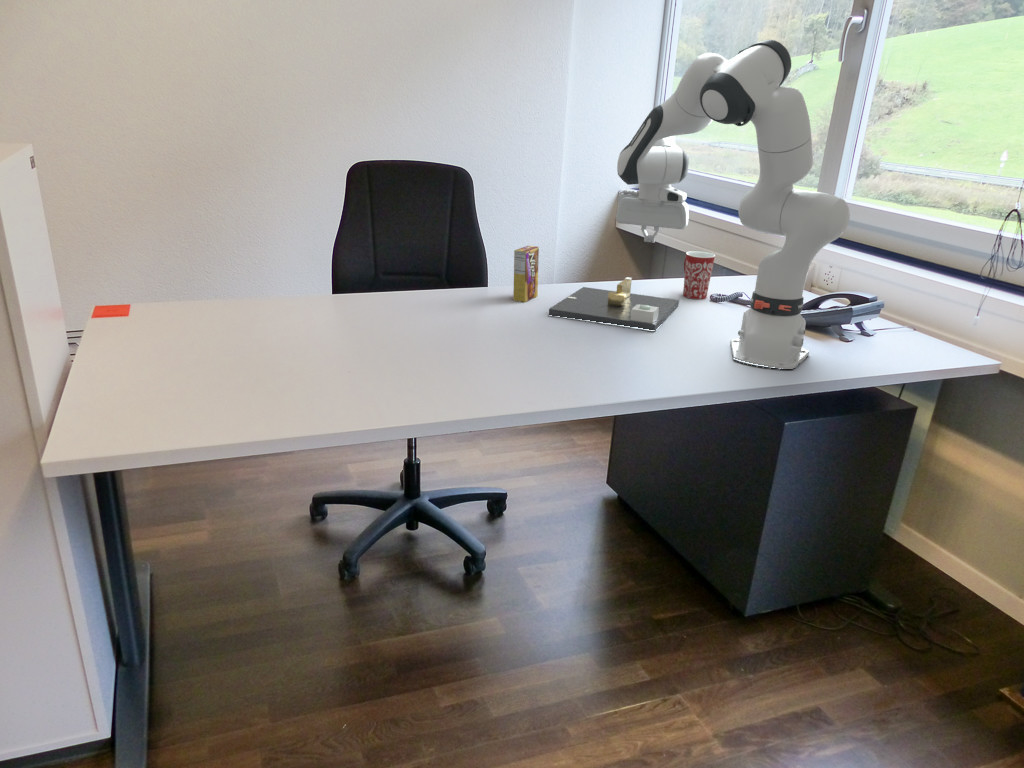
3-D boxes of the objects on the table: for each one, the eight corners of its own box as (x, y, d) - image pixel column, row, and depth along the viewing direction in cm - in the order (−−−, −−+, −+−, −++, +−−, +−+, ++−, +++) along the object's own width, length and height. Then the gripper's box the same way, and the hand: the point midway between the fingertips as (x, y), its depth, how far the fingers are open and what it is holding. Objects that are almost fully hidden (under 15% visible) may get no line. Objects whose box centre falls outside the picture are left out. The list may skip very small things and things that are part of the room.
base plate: (654, 332, 196) (656, 311, 194) (548, 315, 207) (549, 296, 205) (678, 306, 222) (680, 288, 220) (583, 293, 233) (584, 275, 231)
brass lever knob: (622, 306, 210) (624, 288, 208) (605, 304, 212) (607, 286, 210) (635, 295, 223) (637, 278, 221) (619, 293, 225) (621, 276, 223)
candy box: (525, 294, 228) (527, 245, 223) (537, 296, 226) (540, 246, 221) (511, 300, 221) (513, 249, 215) (524, 302, 219) (527, 251, 213)
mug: (714, 299, 231) (720, 256, 226) (688, 300, 229) (693, 257, 224) (696, 289, 243) (702, 248, 238) (671, 290, 241) (675, 249, 236)
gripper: (615, 190, 209) (611, 239, 214) (688, 196, 201) (682, 247, 206) (621, 188, 214) (617, 236, 219) (692, 194, 207) (686, 243, 212)
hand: (649, 242), depth 213 cm, fingers closed
